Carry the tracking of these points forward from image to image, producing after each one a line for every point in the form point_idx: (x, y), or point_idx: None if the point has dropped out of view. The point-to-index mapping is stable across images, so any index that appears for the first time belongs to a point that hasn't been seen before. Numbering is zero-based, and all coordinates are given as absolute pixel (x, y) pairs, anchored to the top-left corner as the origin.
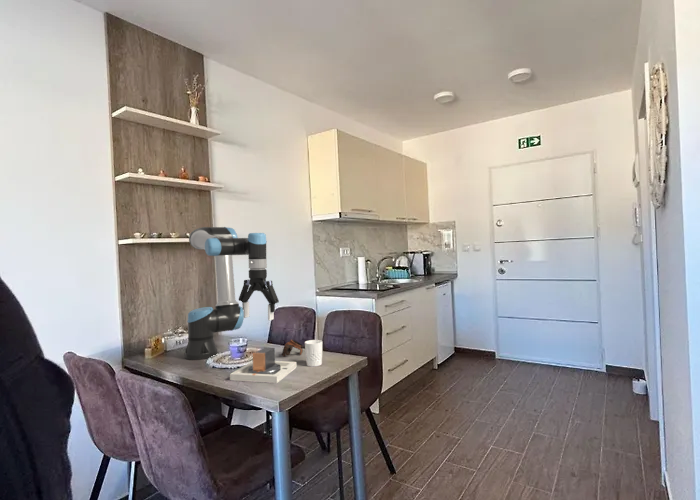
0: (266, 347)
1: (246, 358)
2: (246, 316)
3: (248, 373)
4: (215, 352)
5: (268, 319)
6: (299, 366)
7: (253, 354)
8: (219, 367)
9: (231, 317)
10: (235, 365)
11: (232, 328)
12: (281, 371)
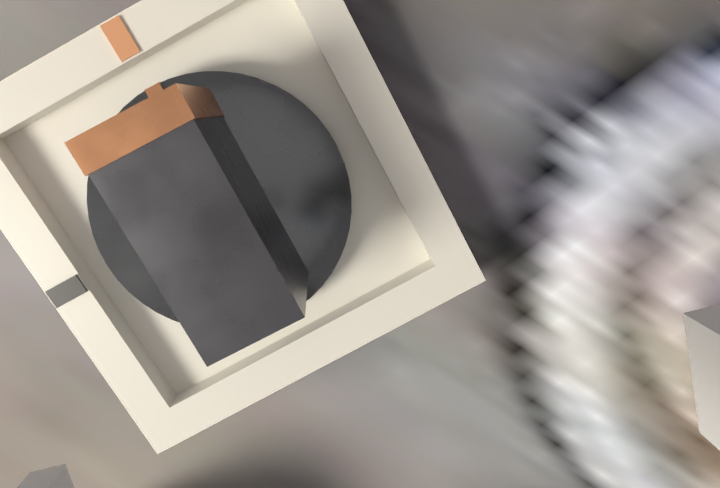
0: (288, 325)
1: None
2: (699, 363)
3: (183, 23)
4: None
5: (46, 475)
6: (179, 462)
7: (170, 87)
8: (676, 68)
9: None
10: (610, 181)
11: None
12: (19, 228)
